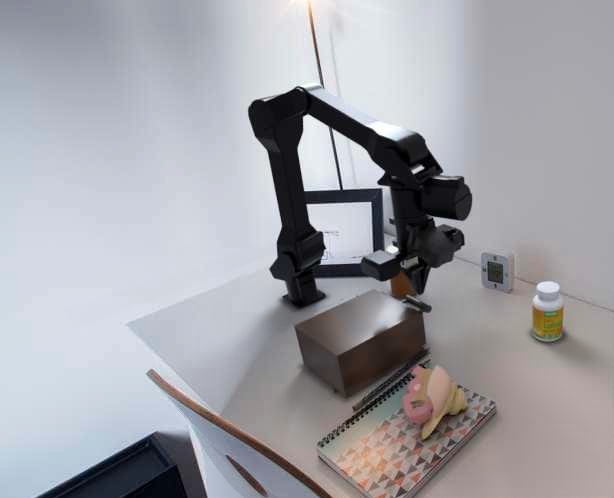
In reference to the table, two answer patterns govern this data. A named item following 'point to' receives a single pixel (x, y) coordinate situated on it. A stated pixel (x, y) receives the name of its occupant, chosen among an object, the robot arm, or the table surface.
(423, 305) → the drawer
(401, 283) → the pill bottle
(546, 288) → the supplement bottle
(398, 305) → the cabinet
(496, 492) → the table surface
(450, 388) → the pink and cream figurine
